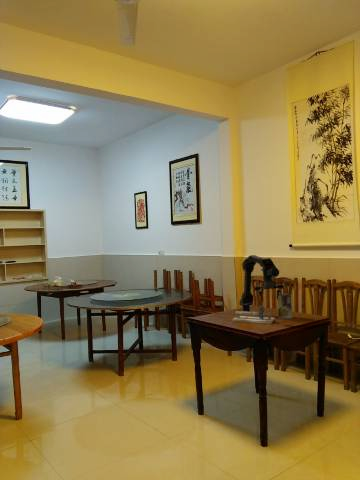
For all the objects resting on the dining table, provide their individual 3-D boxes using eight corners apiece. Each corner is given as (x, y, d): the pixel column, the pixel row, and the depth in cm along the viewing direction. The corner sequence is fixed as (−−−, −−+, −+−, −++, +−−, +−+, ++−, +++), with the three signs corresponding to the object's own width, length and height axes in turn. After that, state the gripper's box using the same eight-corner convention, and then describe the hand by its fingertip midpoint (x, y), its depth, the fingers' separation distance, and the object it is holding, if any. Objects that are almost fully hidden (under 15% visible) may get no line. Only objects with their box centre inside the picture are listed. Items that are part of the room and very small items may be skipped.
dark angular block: (261, 316, 266) (260, 305, 266) (264, 317, 265) (263, 305, 265) (259, 318, 262) (259, 306, 261) (262, 318, 261) (262, 306, 261)
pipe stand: (237, 317, 277) (236, 309, 277) (274, 319, 266) (273, 311, 266) (232, 321, 266) (231, 312, 266) (270, 323, 255) (270, 314, 255)
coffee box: (292, 316, 273) (291, 293, 273) (292, 318, 267) (291, 295, 267) (279, 316, 276) (278, 293, 276) (278, 318, 270) (277, 295, 270)
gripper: (253, 278, 254) (256, 302, 253) (283, 276, 251) (285, 300, 250) (253, 278, 265) (255, 301, 264) (281, 276, 262) (284, 299, 261)
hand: (270, 300), depth 259 cm, fingers open, 9 cm apart
